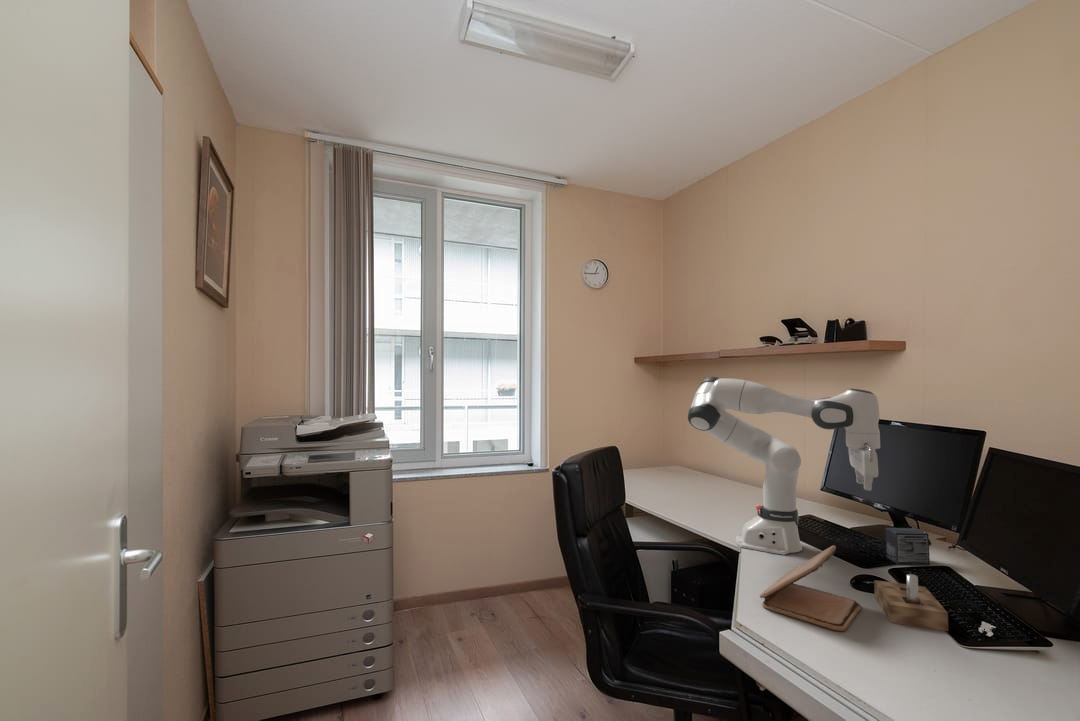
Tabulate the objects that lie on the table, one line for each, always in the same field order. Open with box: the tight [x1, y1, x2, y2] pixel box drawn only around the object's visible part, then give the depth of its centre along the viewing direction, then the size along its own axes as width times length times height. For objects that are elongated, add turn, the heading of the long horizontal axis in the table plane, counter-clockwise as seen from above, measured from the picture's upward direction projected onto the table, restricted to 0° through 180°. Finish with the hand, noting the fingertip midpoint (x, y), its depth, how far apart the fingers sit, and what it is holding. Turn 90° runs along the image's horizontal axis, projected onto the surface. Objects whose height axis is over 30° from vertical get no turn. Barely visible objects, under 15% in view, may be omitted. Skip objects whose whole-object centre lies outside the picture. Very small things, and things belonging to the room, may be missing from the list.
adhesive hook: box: [978, 621, 997, 637], centre depth 120 cm, size 3×3×3 cm
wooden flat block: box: [873, 579, 949, 632], centre depth 131 cm, size 12×16×4 cm
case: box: [759, 545, 862, 632], centre depth 135 cm, size 20×21×16 cm
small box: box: [885, 527, 931, 566], centre depth 166 cm, size 11×6×10 cm, turn 84°
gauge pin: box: [905, 573, 919, 605], centre depth 128 cm, size 2×2×11 cm
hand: (863, 486), depth 150 cm, fingers open, 8 cm apart
